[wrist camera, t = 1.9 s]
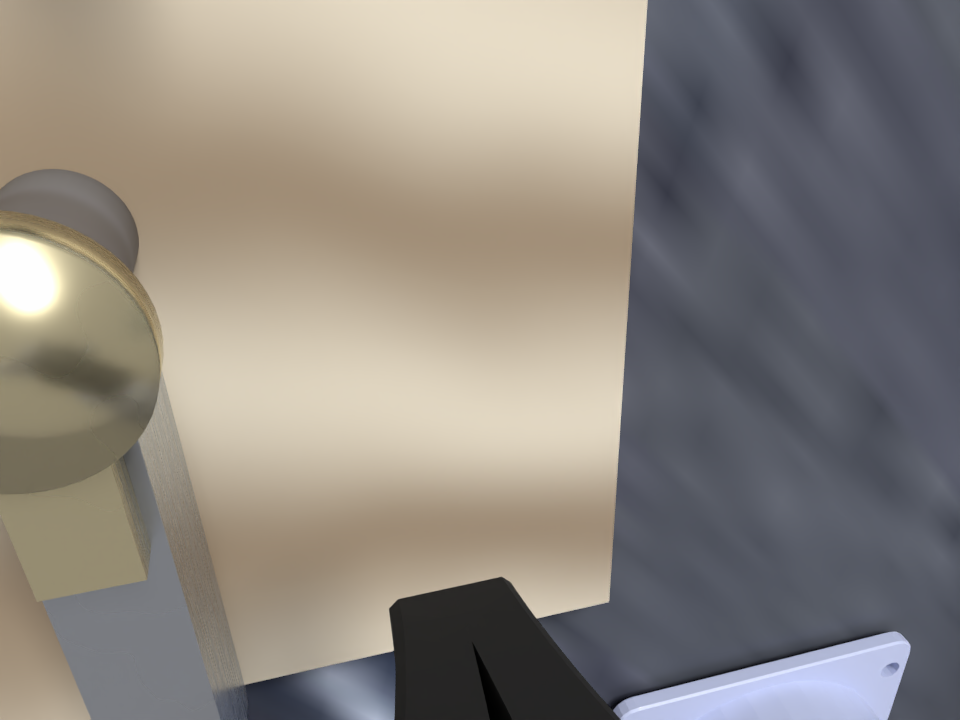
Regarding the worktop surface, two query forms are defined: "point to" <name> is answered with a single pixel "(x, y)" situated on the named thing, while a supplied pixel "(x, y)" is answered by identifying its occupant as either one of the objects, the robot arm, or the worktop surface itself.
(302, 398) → the jamb board
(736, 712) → the robot arm
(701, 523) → the worktop surface
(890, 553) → the worktop surface
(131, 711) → the lock bar
